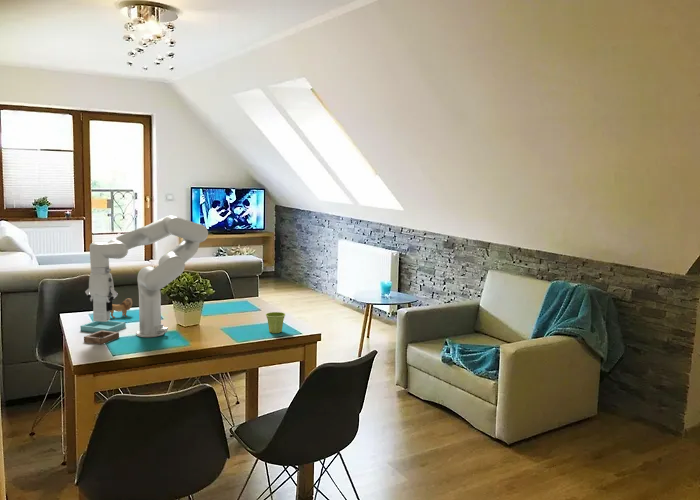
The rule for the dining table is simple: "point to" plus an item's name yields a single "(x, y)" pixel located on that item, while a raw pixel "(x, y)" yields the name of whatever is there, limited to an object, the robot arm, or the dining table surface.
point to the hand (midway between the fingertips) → (102, 309)
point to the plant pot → (275, 321)
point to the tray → (103, 326)
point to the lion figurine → (122, 307)
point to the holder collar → (105, 334)
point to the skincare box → (100, 309)
